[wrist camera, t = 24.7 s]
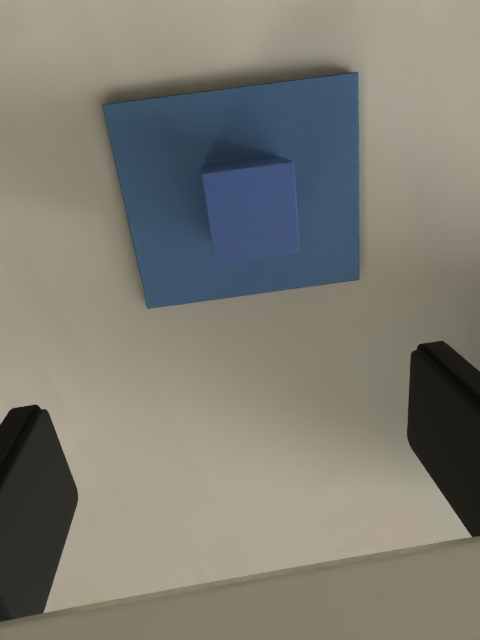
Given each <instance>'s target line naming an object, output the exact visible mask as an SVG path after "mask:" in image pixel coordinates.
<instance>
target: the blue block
mask: <svg viewBox="0 0 480 640" xmlns="http://www.w3.org/2000/svg"><path fill="white" fill-rule="evenodd" d="M202 180H203V187H204V194H205V201H206V208H207V214H208V221H209V228H210V235H211V242H212V248H213V255H214V262H215V263H220V262H227V261H235V260H242V259H249V258H257V257H264V256H272V255H279V254H286V253H294V252H299V251H300V250H299V234H298V218H297V202H296V186H295V170H294V162H293V161H290V160H288V159H285V158H282V157H279V156H277V157H270V158H262V159H254V160H247V161H239V162H231V163H224V164H216V165H208V166H202Z"/></svg>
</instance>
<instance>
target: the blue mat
mask: <svg viewBox="0 0 480 640" xmlns="http://www.w3.org/2000/svg"><path fill="white" fill-rule="evenodd" d="M102 106H103V111H104V115H105V120H106V124H107V129H108V133H109V138H110V142H111V147H112V151H113V156H114V160H115V165H116V169H117V174H118V178H119V183H120V187H121V192H122V196H123V201H124V205H125V210H126V214H127V219H128V223H129V228H130V232H131V237H132V241H133V246H134V250H135V255H136V259H137V264H138V268H139V273H140V277H141V281H142V286H143V290H144V295H145V299H146V304H147V308H148V309H150V308H157V307H164V306H172V305H179V304H186V303H193V302H201V301H208V300H215V299H223V298H230V297H237V296H244V295H252V294H259V293H266V292H274V291H281V290H288V289H295V288H303V287H310V286H317V285H325V284H332V283H339V282H346V281H354V280H359V121H358V72H354V73H346V74H338V75H330V76H322V77H314V78H307V79H299V80H291V81H283V82H275V83H267V84H259V85H252V86H244V87H236V88H228V89H220V90H212V91H204V92H197V93H189V94H181V95H173V96H165V97H157V98H149V99H141V100H134V101H126V102H118V103H110V104H103V105H102ZM277 156H279V157H282V158H285V159H288V160H290V161H293V162H294V170H295V186H296V202H297V218H298V234H299V250H300V251H299V252H294V253H286V254H279V255H272V256H264V257H257V258H249V259H242V260H235V261H227V262H220V263H215V262H214V255H213V248H212V242H211V235H210V228H209V221H208V214H207V208H206V201H205V194H204V187H203V180H202V166H208V165H216V164H224V163H231V162H239V161H247V160H254V159H262V158H270V157H277Z"/></svg>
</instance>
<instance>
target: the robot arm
mask: <svg viewBox="0 0 480 640" xmlns="http://www.w3.org/2000/svg"><path fill="white" fill-rule="evenodd" d="M407 437H408V441H409V444H410V447H411V448H412V450H413V451H414V453H415V454H416V456H417V457H418V459H419V460H420V462H421V463H422V464H423V466H424V467H425V469H426V470H427V472H428V473H429V475H430V476H431V478H432V479H433V480H434V482H435V483H436V485H437V486H438V488H439V489H440V491H441V492H442V494H443V495H444V497H445V498H446V499H447V501H448V502H449V504H450V505H451V507H452V508H453V510H454V511H455V513H456V514H457V515H458V517H459V518H460V520H461V521H462V523H463V524H464V526H465V527H466V529H467V530H468V532H469V533H470V534H471V536H472V537H471V538H464V539H458V540H451V541H445V542H439V543H433V544H427V545H422V546H416V547H410V548H404V549H398V550H392V551H386V552H381V553H375V554H369V555H363V556H357V557H351V558H346V559H340V560H334V561H328V562H322V563H317V564H311V565H305V566H300V567H294V568H288V569H283V570H277V571H271V572H266V573H260V574H254V575H249V576H243V577H238V578H232V579H226V580H221V581H215V582H209V583H204V584H198V585H193V586H187V587H182V588H176V589H171V590H165V591H160V592H154V593H149V594H143V595H138V596H132V597H127V598H122V599H116V600H111V601H105V602H100V603H94V604H89V605H83V606H78V607H72V608H67V609H62V610H57V611H52V612H47V613H43V612H44V609H45V606H46V603H47V599H48V596H49V593H50V590H51V587H52V583H53V580H54V577H55V574H56V570H57V567H58V564H59V561H60V558H61V554H62V551H63V548H64V545H65V541H66V538H67V535H68V532H69V529H70V525H71V522H72V519H73V516H74V513H75V509H76V506H77V502H78V492H77V488H76V485H75V482H74V480H73V477H72V474H71V472H70V469H69V466H68V463H67V461H66V458H65V455H64V453H63V450H62V447H61V445H60V442H59V439H58V437H57V434H56V431H55V428H54V426H53V423H52V420H51V418H50V415H49V413H48V411H47V410H45V409H42V410H41V408H40V407H39V406H38V405H31V406H24V407H18V408H13V409H11V410H10V411H9V412H8V414H7V416H6V417H5V419H4V420H3V422H2V423H1V425H0V640H480V371H479V370H477V369H476V368H475V367H474V366H473V365H471V364H470V363H469V362H468V361H467V360H465V359H464V358H463V357H462V356H461V355H460V354H458V353H457V352H456V351H455V350H454V349H452V348H451V347H450V346H449V345H448V344H446V343H445V342H444V341H437V342H430V343H424V344H420V345H418V347H417V350H415V351H413V352H412V353H411V362H410V384H409V405H408V426H407Z"/></svg>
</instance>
